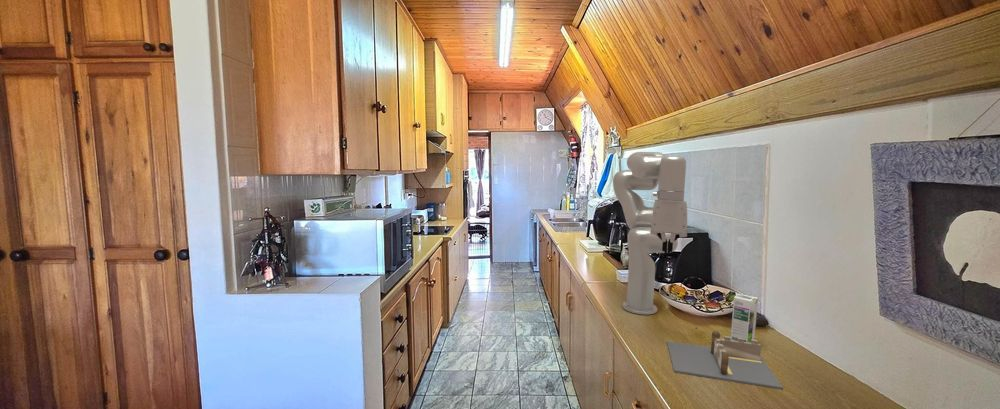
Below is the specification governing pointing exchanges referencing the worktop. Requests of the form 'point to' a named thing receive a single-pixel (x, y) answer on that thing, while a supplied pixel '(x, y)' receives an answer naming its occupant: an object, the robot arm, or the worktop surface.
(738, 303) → the syrup box
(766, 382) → the card
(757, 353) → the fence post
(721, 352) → the fence gate
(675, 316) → the worktop surface
